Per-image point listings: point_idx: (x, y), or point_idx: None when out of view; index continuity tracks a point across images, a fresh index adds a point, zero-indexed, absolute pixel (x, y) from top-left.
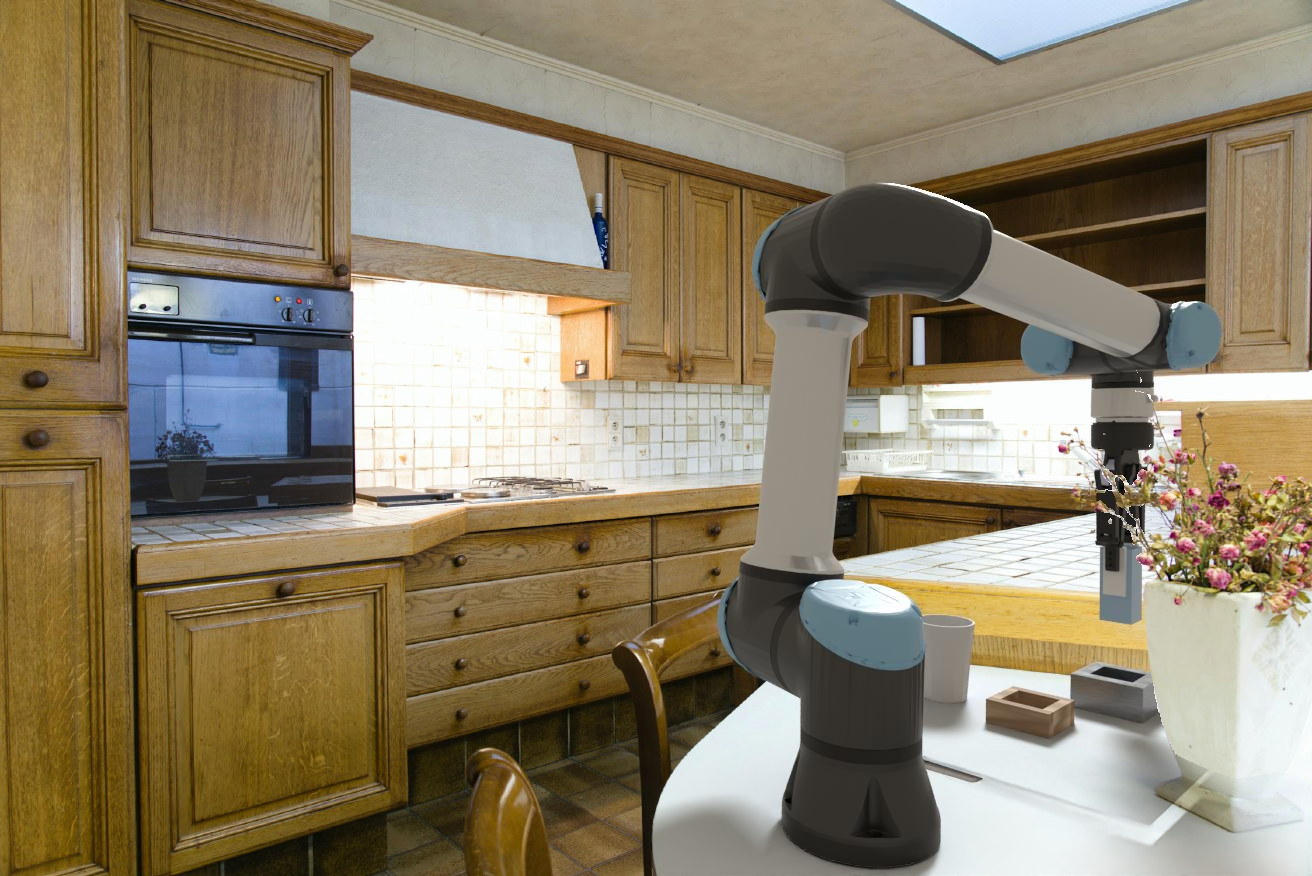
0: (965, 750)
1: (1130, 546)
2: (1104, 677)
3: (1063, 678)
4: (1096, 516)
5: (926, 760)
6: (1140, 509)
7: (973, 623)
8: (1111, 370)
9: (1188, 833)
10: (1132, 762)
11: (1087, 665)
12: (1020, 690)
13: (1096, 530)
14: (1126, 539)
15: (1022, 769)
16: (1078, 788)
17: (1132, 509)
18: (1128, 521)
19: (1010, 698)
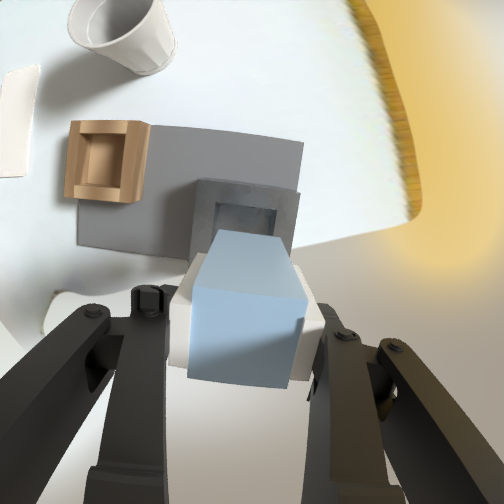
0: (38, 136)
1: (266, 364)
2: (209, 224)
3: (373, 135)
4: (28, 353)
5: (1, 129)
6: (393, 458)
7: (113, 42)
8: None
9: (21, 313)
10: (104, 265)
11: (264, 188)
12: (126, 135)
13: (61, 323)
14: (319, 355)
15: (30, 192)
16: (27, 241)
17: (307, 468)
18: (315, 412)
19: (106, 133)
